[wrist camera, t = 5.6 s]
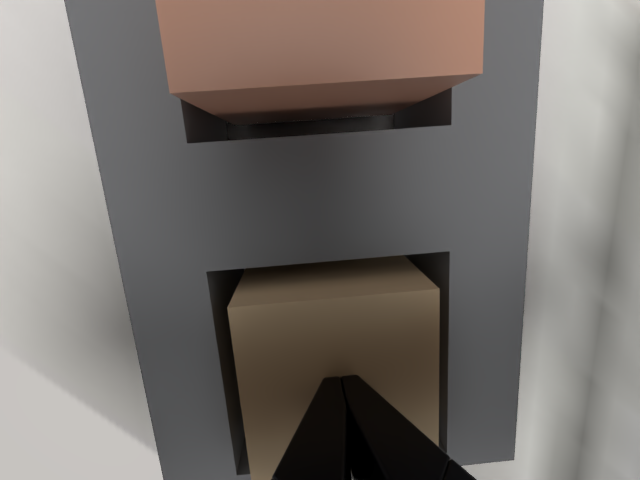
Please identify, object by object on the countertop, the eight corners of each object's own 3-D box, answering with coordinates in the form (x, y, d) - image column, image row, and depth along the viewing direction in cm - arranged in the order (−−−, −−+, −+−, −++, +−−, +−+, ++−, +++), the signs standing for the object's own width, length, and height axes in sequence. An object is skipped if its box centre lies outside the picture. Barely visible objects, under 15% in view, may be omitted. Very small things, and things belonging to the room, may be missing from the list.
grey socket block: (445, 364, 15) (514, 459, 10) (209, 387, 15) (167, 497, 10) (450, -75, 12) (559, -239, 7) (138, -60, 11) (18, -223, 6)
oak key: (385, 348, 15) (438, 463, 9) (269, 360, 15) (251, 483, 9) (382, 235, 14) (440, 288, 8) (256, 245, 14) (227, 307, 8)
